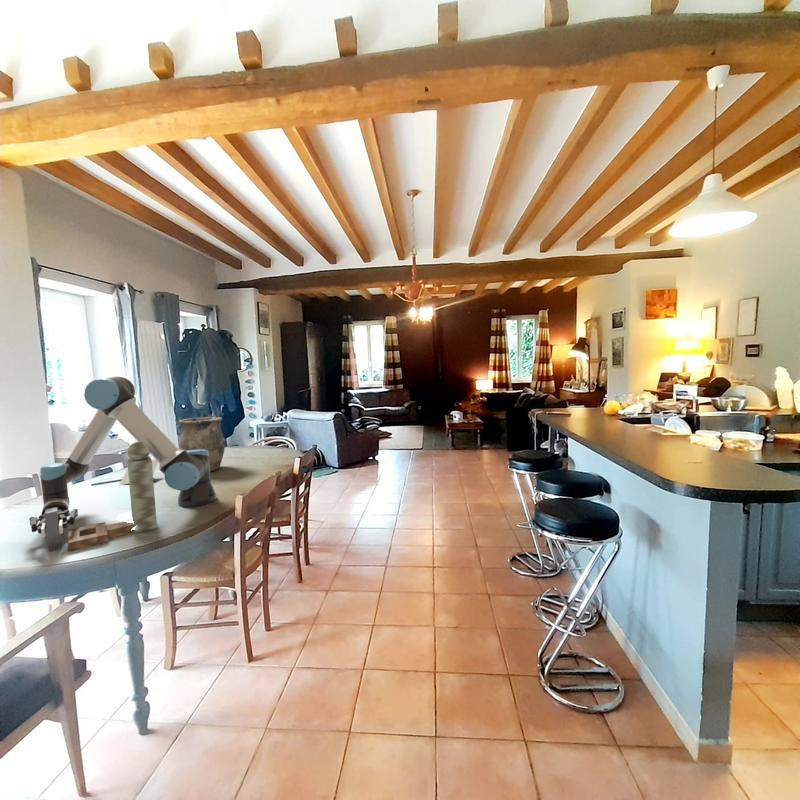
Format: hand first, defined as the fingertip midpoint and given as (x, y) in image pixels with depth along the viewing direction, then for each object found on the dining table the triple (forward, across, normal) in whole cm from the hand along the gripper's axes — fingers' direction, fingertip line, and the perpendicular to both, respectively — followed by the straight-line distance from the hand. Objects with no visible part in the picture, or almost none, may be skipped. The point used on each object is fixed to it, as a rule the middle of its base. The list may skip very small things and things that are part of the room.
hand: (51, 531), depth 134 cm
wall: (-80, -32, -8) cm, 86 cm away
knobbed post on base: (-5, -17, -8) cm, 19 cm away
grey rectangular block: (-5, 0, -8) cm, 9 cm away
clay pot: (-79, -63, -8) cm, 102 cm away
